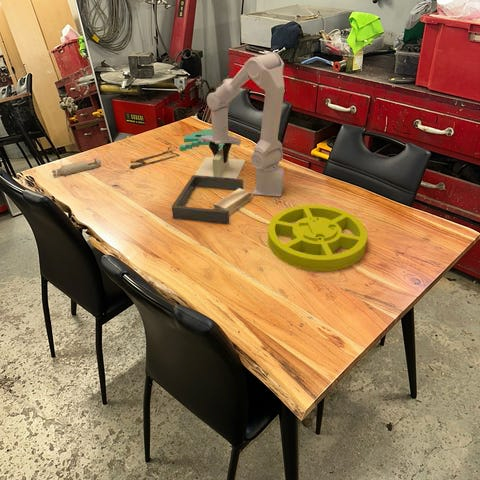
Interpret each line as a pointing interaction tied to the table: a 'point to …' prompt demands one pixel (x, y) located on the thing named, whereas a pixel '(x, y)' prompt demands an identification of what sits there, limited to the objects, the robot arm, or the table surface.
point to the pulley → (317, 237)
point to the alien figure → (197, 140)
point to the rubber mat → (230, 171)
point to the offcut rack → (202, 213)
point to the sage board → (219, 163)
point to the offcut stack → (233, 201)
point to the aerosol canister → (77, 167)
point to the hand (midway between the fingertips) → (221, 161)
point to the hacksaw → (152, 157)
